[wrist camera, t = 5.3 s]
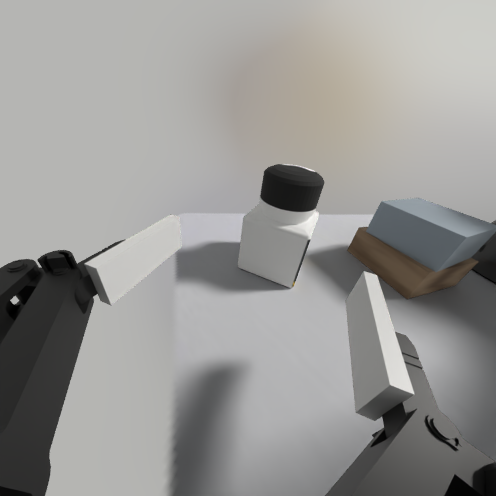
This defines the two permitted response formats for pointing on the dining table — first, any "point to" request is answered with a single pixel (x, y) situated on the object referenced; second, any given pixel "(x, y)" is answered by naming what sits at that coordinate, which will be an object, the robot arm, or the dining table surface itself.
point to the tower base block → (404, 267)
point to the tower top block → (429, 232)
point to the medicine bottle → (281, 223)
